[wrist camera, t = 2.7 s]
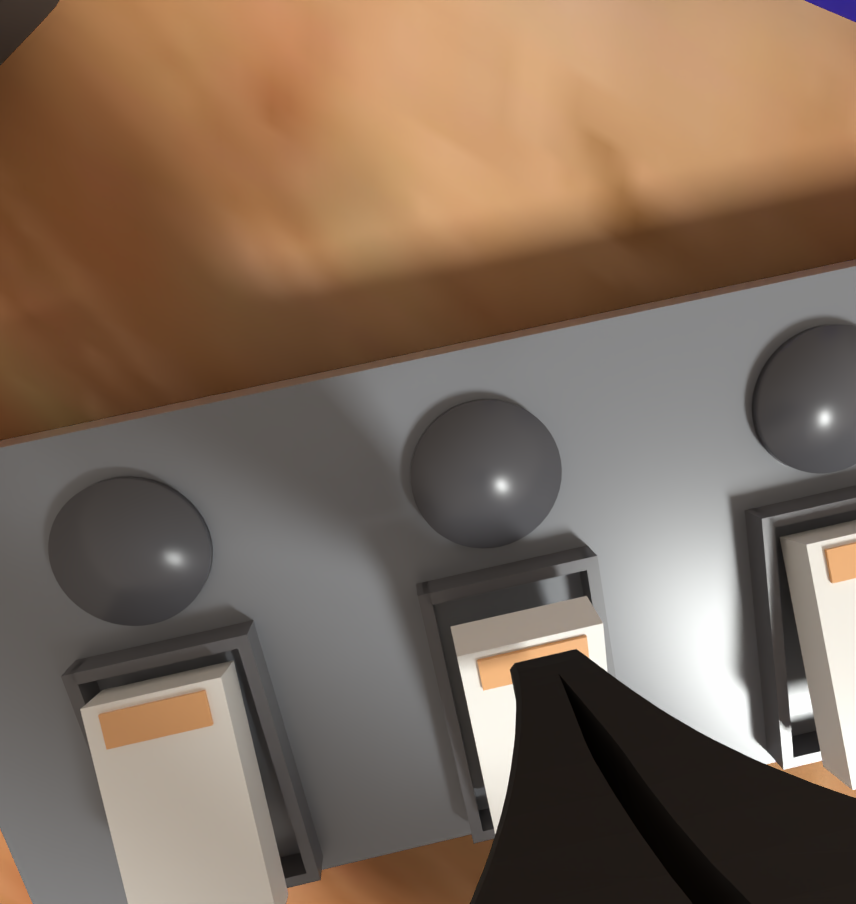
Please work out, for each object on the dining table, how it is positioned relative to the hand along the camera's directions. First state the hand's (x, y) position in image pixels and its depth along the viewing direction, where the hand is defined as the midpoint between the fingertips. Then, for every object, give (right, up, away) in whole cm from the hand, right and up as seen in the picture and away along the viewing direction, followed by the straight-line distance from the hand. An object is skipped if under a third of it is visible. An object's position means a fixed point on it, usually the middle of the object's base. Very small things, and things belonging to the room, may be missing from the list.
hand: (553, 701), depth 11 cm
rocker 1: (-8, -4, +3) cm, 9 cm away
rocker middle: (0, -2, +3) cm, 3 cm away
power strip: (+3, +2, +7) cm, 8 cm away
